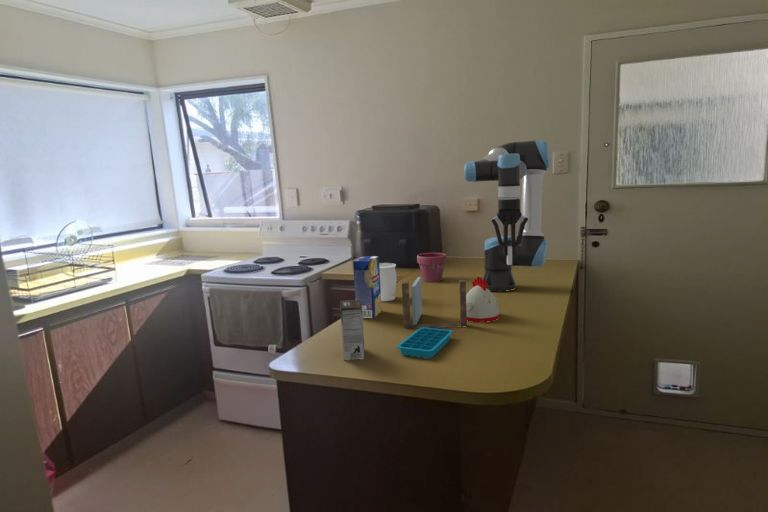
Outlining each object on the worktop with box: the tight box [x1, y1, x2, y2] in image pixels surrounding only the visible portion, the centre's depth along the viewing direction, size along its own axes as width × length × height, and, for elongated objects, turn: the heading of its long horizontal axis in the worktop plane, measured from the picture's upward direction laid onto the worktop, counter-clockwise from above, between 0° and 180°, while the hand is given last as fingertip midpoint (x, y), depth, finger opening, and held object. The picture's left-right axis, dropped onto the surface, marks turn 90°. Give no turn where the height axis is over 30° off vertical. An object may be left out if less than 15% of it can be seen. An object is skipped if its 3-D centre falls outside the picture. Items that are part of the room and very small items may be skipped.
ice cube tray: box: [396, 327, 454, 359], centre depth 158 cm, size 12×20×3 cm, turn 154°
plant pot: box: [416, 252, 447, 283], centre depth 249 cm, size 14×14×13 cm
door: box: [410, 276, 423, 325], centre depth 185 cm, size 15×3×14 cm, turn 168°
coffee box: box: [339, 299, 365, 361], centre depth 153 cm, size 9×6×16 cm
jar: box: [379, 262, 398, 302], centre depth 217 cm, size 11×10×15 cm
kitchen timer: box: [466, 276, 500, 323], centre depth 185 cm, size 14×14×15 cm
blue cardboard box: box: [352, 255, 383, 319], centre depth 194 cm, size 7×11×22 cm, turn 164°
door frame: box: [401, 279, 468, 330], centre depth 176 cm, size 22×4×16 cm, turn 86°
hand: (509, 264), depth 182 cm, fingers closed
